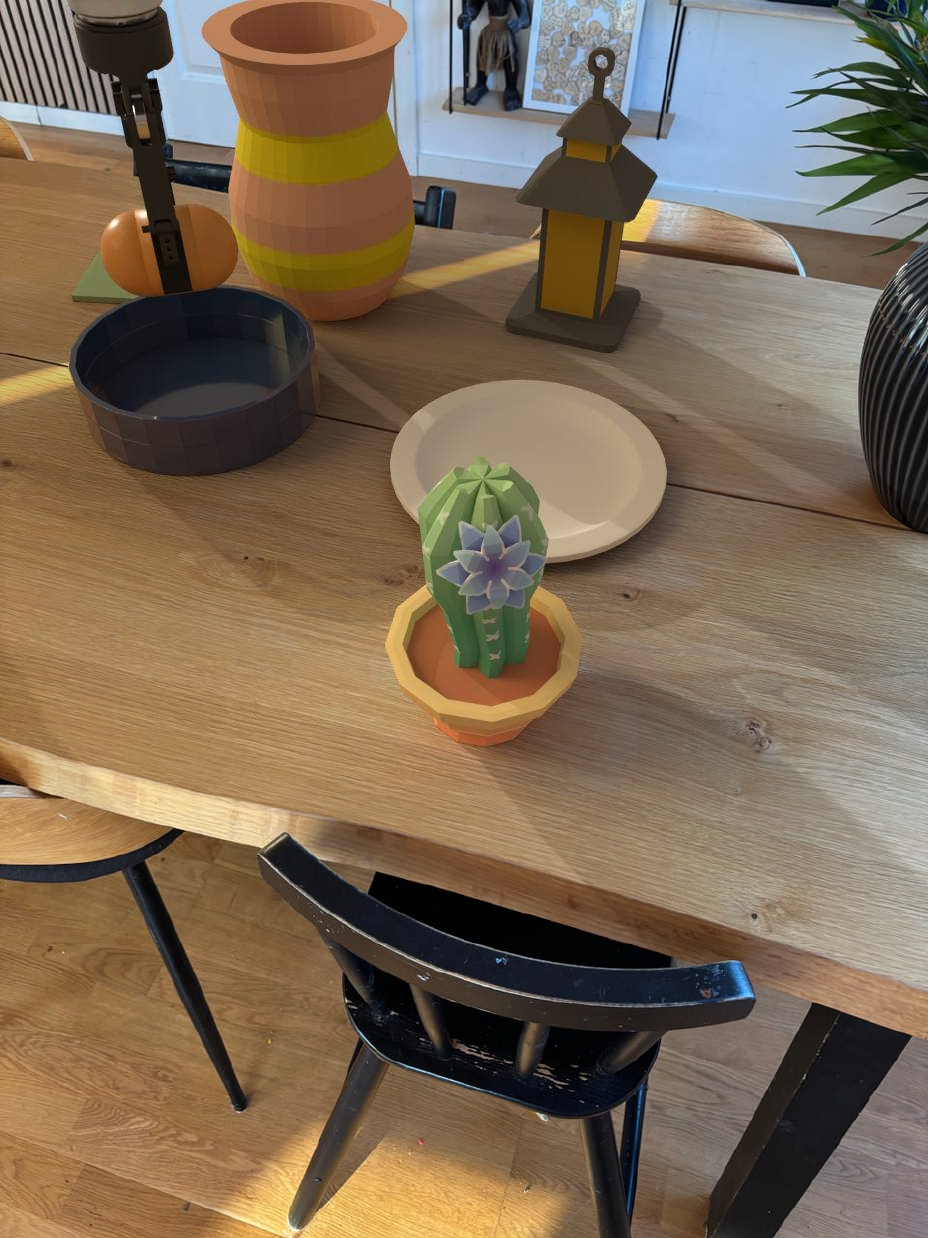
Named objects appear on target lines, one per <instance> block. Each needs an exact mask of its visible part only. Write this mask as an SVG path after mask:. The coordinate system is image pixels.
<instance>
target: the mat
mask: <svg viewBox="0 0 928 1238" xmlns="http://www.w3.org/2000/svg"><path fill="white" fill-rule="evenodd" d="M70 296H71V300H72V302H82V303H83V302H84V303H102V304H103V303H105V304H121V303H123V302H126V301H129V300H131V299H134V298H136V297H139V296H137V295H134V294H131V293H129V292H127V291H125V290H124V289H122V288H120V287H119V286H118V285H117V284H116V283H115V282H114V281H113V280H112V279H111V277H110V276H109V275H108V273H107V271H106V269H105V267H104V265H103V261H102V258H101V251H100V250H98V252H97V254H96V255H95V257H94V258H93V260H92V262H91V263H90V265H89V267H88V268H87V269H86V271H85V273H84V274H83V276H82V277H81V279H80V280H79V282H78V283H77V285H76V286H75V288H74V290H73V292H72V293H71V294H70Z"/></svg>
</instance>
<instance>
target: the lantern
mask: <svg viewBox="0 0 928 1238" xmlns="http://www.w3.org/2000/svg"><path fill="white" fill-rule="evenodd" d="M598 56H603V58H604V57H605V59H606V62H607V66H606V67H600V66H599V65H598V64H597V60H596V59H597V57H598ZM616 56H617V55H616V53H615V52H614V51H613V50H612V49H611V48H610V47H607V46H606V47H605V46H598V47H595V48H594V49H593V50H592V51H591V52H590V53H589V54H588V59H587V60H588V61H587V71H588V73H589V74H590V75H591V76H593V85H592V94H591V96H589V97H588V98H587V99H586V100H585V101H583V102H582V103H581V104H580V105H579V106H578V107H577V108H576V109H574V110H573V111H572V112H571V113H570V114H569V115H568V116H567V118H566V119H565V121H564V122H563V123H562V125H561V126H560V128H559V129H558V130H557V131H556V133H555V136H556V137H558V138H562V145H561V146H559V147H557V148H556V149H554V150H553V151H552V152H550V153H549V154H546V156H544V157H543V159H542V160H541V162H540V163H539V165H538V166H537V167H536V168H535V170H533V172H532V174H531V175H530V177H529V178H528V179H527V180H526V182H525V183H524V185H523V186H522V187H521V188H520V190H519V191H518V193H517V194H516V195H515V197H514V198H515V201H516V203H519V204H520V205H524V206H528V207H535V208H539V209H540V208H541V209H542V211H541V224H540V236H539V250H538V261H537V271H536V272H534V273H533V275H532V277H531V278H530V280H529V281H528V283H527V284H526V286H525V288H524V289H523V290H522V292H521V294H520V295H519V297H518V299H517V300H516V302H515V303H514V305H513V307H512V308H511V310H510V311H509V313H508V314H507V316H506V318H505V328H506V331H508V332H510V333H512V334H517V335H521V336H524V337H525V336H526V337H530V338H535V339H540V340H543V341H549V342H553V343H556V344H562V345H566V346H570V347H571V346H572V347H576V348H580V349H584V350H588V351H589V350H590V351H593V352H599V353H605V354H606V353H607V354H609V353H613V352H615V351H617V350H618V348H619V346H620V344H621V343H622V340H623V339H624V335H625V333H626V331H627V329H628V327H629V325H630V323H631V321H632V319H633V317H634V316H635V315H634V314H635V313H636V311H637V308H638V306H639V305H640V303H641V297H642V294H641V292H640V290H639V289H637V288H635V287H631V286H628V285H627V286H626V285H623V284H616V283H617V278H618V271H619V264H620V257H621V250H622V244H623V236H624V228H625V223H626V224H628V223H631V222H633V221H635V220H636V218H637V216H638V214H639V212H640V211H641V209H642V207H643V206H644V204H645V202H646V200H647V198H648V195H649V194H650V192H651V191H652V188H653V187H654V185H655V183H656V181H657V179H658V178H659V177H658V174H657V172H656V171H654V170H653V169H652V168H651V167H650V166H649V165H648V164H647V163H645V162H644V161H642V160H641V159H640V158H639V156H637V155H636V154H634V153H633V152H632V151H631V150H630V149H628V147H626V146H625V145H624V144H623V139H624V137H625V135H626V134H627V133H628V131H629V129H630V128H631V126H632V125H633V123H632V121H631V120H630V119H629V118H628V117H627V116H626V115H625V114H624V113H623V112H622V111H621V110H620V109H619V108H618V107H617V106H616V104H614V103H613V101H611V100H610V99H609V98H606V97H604V93H605V85H606V78H607V77H610V76H611V74H612V73H613V71H614V69H615V65H616Z"/></svg>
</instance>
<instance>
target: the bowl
mask: <svg viewBox="0 0 928 1238" xmlns="http://www.w3.org/2000/svg"><path fill="white" fill-rule="evenodd" d="M68 359H69V362H68V367H67V368H68V372H69V374H70V377H71V380H72V382H73V383H72V384H73V386H74V389H75V392H76V395H77V398H78V402H79V404H80V407H81V410H82V413H83V416H84V419H85V421H86V424H87V427H88V431H89V432H90V435H91V437H92V438H93V440H94V442H96V444H97V445H98V446H99V448H101V450H102V451H104V452H105V453H106V454H108V455H109V456H110V457H112V458H113V459H114V460H116V461H118V462H119V463H122V464H124V465H127V466H129V467H131V468H134V469H137V470H139V471H143V472H148V473H153V474H158V475H166V476H167V475H168V476H174V477H175V476H176V477H177V476H178V477H179V476H181V477H193V476H196V477H197V476H207V475H214V474H222V473H227V472H231V471H235V470H239V469H243V468H246V467H249V466H251V465H255V464H257V463H259V462H263V461H264V460H266V459H269V458H271V457H274V455H276V454H278V453H280V452H282V451H283V450H285V449H286V448H288V447H289V446H290V445H292V444H293V443H294V442H296V441H297V440H298V439H299V438H300V437H302V436H303V435H304V433H305V432H306V431H307V430H308V428H309V427H310V426H311V425H312V423H313V421H314V420H315V418H316V416H317V413H318V411H319V408H320V404H321V396H322V392H321V391H322V390H321V383H320V375H319V374H320V373H319V364H318V356H317V348H316V340H315V335H314V330H313V326H312V324H311V323H310V322H309V321H308V319H306V318H305V316H304V315H303V313H302V312H301V311H299V310H298V309H297V308H295V307H294V306H292V305H291V304H290V303H288V302H287V301H286V300H284V299H281V298H279V297H276V296H274V295H271V294H269V293H267V292H264V291H263V290H262V289H261V290H260V289H256V288H251V287H246V286H240V285H235V284H234V285H233V284H221V285H219V286H217V287H215V288H213V289H209V290H205V291H197V292H189V293H181V294H173V295H165V296H157V297H142V296H139V297H136V298H134V299H131V300H129V301H126V302H123V303H118V305H115V306H113V307H112V308H111V309H109V310H107V311H105V312H103V313H102V314H100V315H99V316H97V317H96V318H95V319H94V320H93V321H92V322H91V323H89V325H88V326H86V327H85V328H84V329H82V331H81V332H80V334H79V335H78V337H77V339H76V340H75V342H74V343H73V345H72V347H71V348H70V352H69V358H68Z"/></svg>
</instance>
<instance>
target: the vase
mask: <svg viewBox="0 0 928 1238" xmlns="http://www.w3.org/2000/svg"><path fill="white" fill-rule="evenodd" d="M200 31H201V37H202V39H203V40H204V42H206V44H207V45H208V46H209V47H211V49H212V50H214V51H215V53H217V54H218V56H219V60H220V64H221V68H222V72H223V76H224V80H225V83H226V85H227V88H228V90H229V93H230V94H229V95H230V96H231V99H232V102H233V104H234V107H235V110H236V112H237V114H238V117H239V119H238V126H237V133H236V141H235V148H234V157H233V162H232V167H231V172H230V173H231V174H230V177H229V183H228V197H229V198H228V199H229V206H230V207H229V208H230V218H231V227H232V229H233V231H234V233H235V236H236V239H237V243H238V251H239V252H240V255H241V257H242V259H243V261H244V264H245V266H246V268H247V270H248V272H249V275H250V276H251V278H252V280H253V281H254V283H256V285H257V287H259V288H260V289H261V291H264V292H267V293H269V294H271V295H274V296H276V297H279V298H281V299H284V300H286V301H287V302H288V303H290V304H291V305H292V306H294V307H295V308H297V309H298V310H299V311H301V312H302V313H303V315H304V316H305V318H306V319H307V321H308V320H309V321H318V322H335V321H344V320H349V319H354V318H359V317H361V316H363V315H366V314H369V313H370V312H372V311H374V310H375V309H378V308H379V307H380V306H381V305H382V304H383V303H385V302H386V300H387V299H388V298H389V296H390V294H391V293H392V292H393V289H394V288H395V287H396V285H397V284H398V282H399V280H400V279H401V277H402V275H403V274H404V272H405V269H406V267H407V264H408V260H409V256H410V250H411V246H412V242H413V237H414V234H415V233H414V232H415V230H416V229H415V228H416V219H415V217H416V216H415V208H414V207H415V206H414V198H413V197H414V195H413V187H412V178H411V175H410V173H409V170H408V167H407V165H406V163H405V160H404V157H403V154H402V152H401V150H400V146H399V144H398V140H397V137H396V135H395V132H394V128H393V125H392V122H391V119H390V116H389V113H388V107H389V102H390V97H391V89H392V83H393V78H394V69H395V68H394V67H395V53H396V52H395V51H396V46H397V45H398V44H399V43H400V42H401V40H402V39H404V36H405V35H406V33H407V32H408V22H407V21H406V19H405V16H403V14H401V13H400V12H399V11H397V10H396V9H394V8H393V7H391V6H389V5H387V4H384V3H381V2H378V1H375V0H244V1H241V2H237V3H234V4H232V5H228V6H226V7H225V8H222V9H219V10H218V11H216V12H214V13H213V14H211V15H210V16H209V17H208V18H207V19H206V20H205V21H204V22H203V25H202V27H201V29H200Z"/></svg>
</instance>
